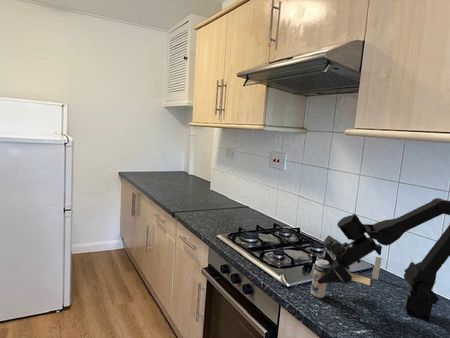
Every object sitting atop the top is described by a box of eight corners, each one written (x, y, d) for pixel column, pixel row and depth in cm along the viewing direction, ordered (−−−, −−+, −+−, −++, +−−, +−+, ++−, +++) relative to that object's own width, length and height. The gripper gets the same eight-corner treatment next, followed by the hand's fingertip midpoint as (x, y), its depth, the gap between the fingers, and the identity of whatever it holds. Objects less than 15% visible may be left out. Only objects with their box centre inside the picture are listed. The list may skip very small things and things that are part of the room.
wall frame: (377, 278, 123) (381, 256, 121) (377, 280, 121) (381, 258, 120) (322, 262, 132) (326, 242, 130) (322, 264, 130) (325, 243, 129)
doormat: (370, 279, 121) (370, 278, 121) (369, 286, 116) (370, 285, 116) (345, 272, 125) (346, 271, 125) (344, 278, 120) (344, 277, 120)
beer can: (307, 291, 107) (312, 259, 105) (318, 290, 109) (323, 257, 107) (316, 299, 103) (322, 265, 101) (328, 297, 105) (333, 264, 103)
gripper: (336, 221, 111) (299, 246, 114) (347, 241, 93) (303, 269, 96) (355, 246, 111) (318, 270, 114) (370, 270, 93) (326, 297, 96)
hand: (316, 275), depth 105 cm, fingers open, 9 cm apart
